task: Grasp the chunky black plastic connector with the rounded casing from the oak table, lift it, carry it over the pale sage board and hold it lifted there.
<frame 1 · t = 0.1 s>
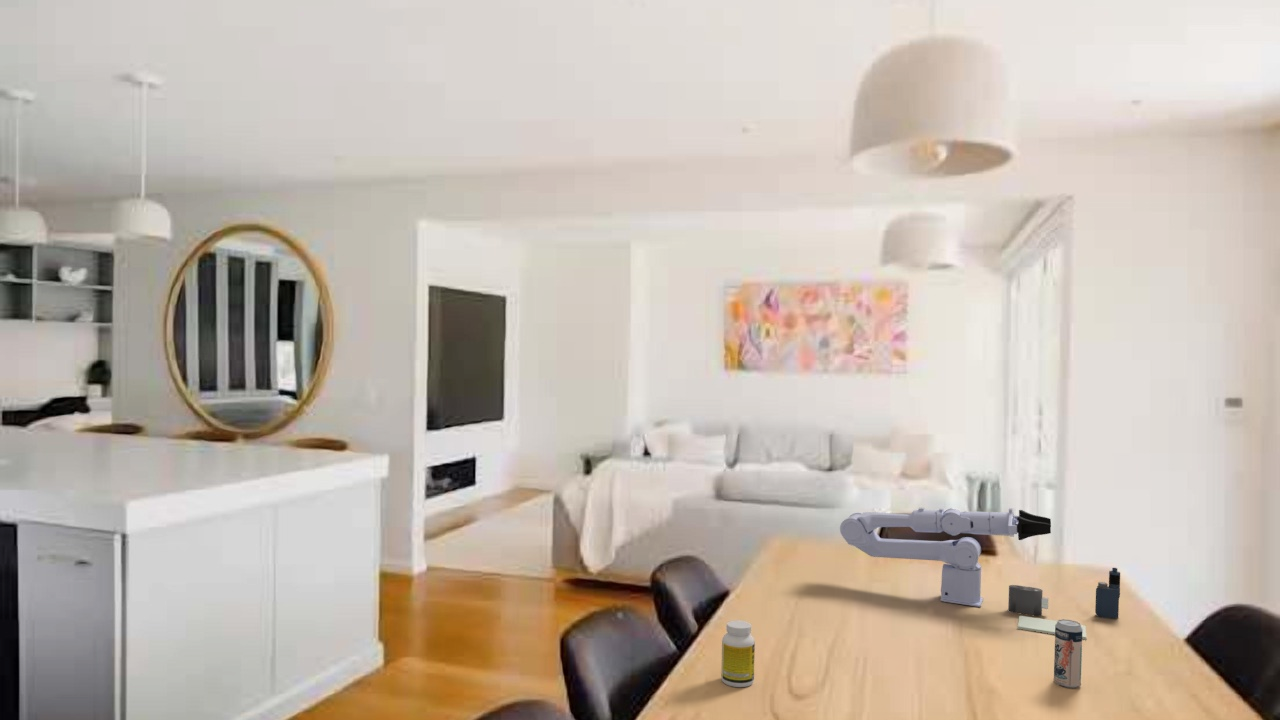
hand: (1050, 525, 203), 22 cm above the table, tool horizontal, fingers open, 7 cm apart
pill bottle: (737, 682, 157), on the table
connector: (1024, 612, 204), on the table
beer can: (1067, 685, 159), on the table
board: (1051, 628, 192), on the table
vaping device: (1107, 617, 202), on the table
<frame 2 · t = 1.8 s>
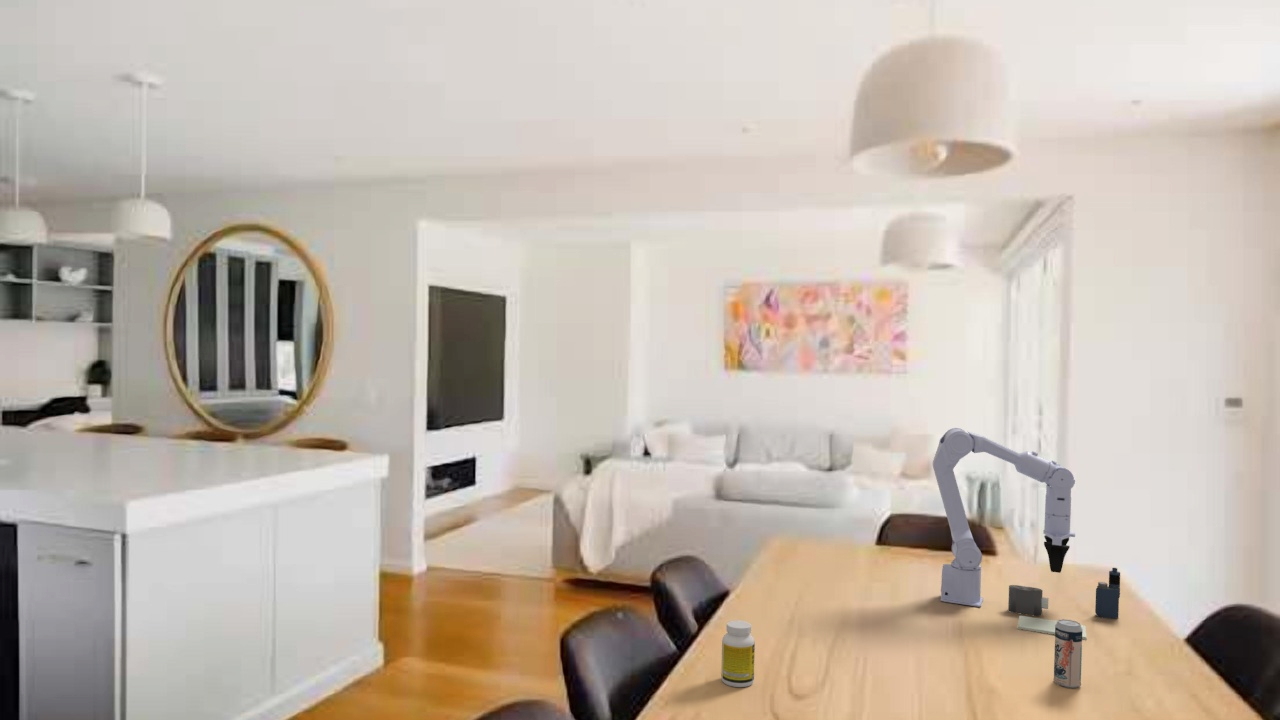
hand: (1055, 568, 206), 10 cm above the table, tool pointing down, fingers open, 7 cm apart
nothing on the table moved.
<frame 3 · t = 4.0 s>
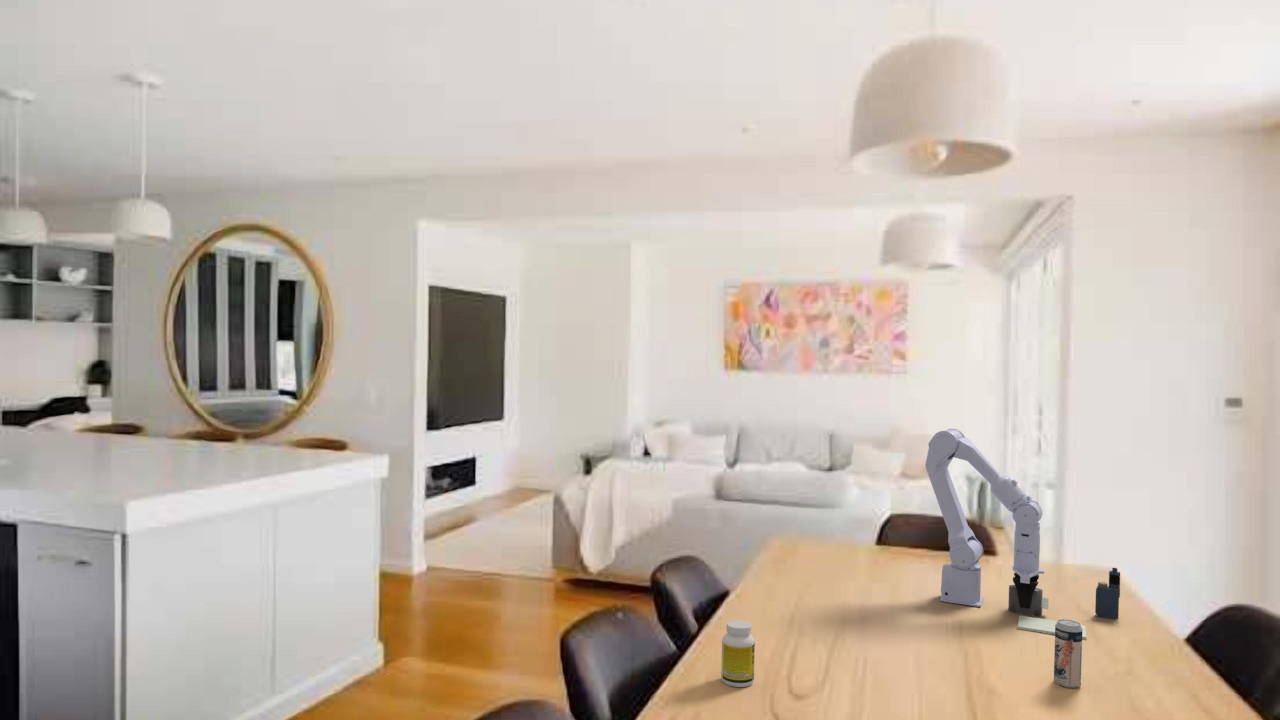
hand: (1025, 605, 204), 2 cm above the table, tool pointing down, fingers closed on connector, 3 cm apart
connector: (1024, 612, 204), on the table, touching gripper
everything else where it was.
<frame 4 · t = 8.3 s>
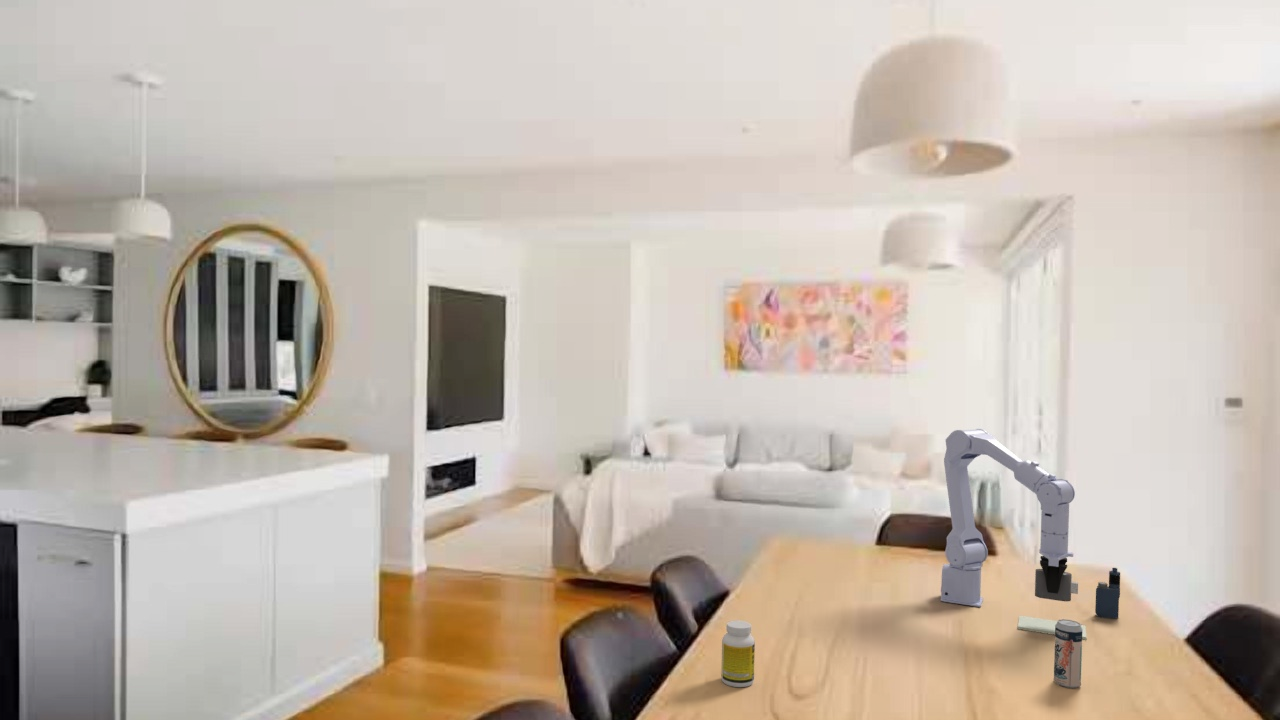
hand: (1052, 590, 192), 9 cm above the table, tool pointing down, fingers closed on connector, 3 cm apart
connector: (1052, 597, 192), point 7 cm above the table, touching gripper
everything else where it was.
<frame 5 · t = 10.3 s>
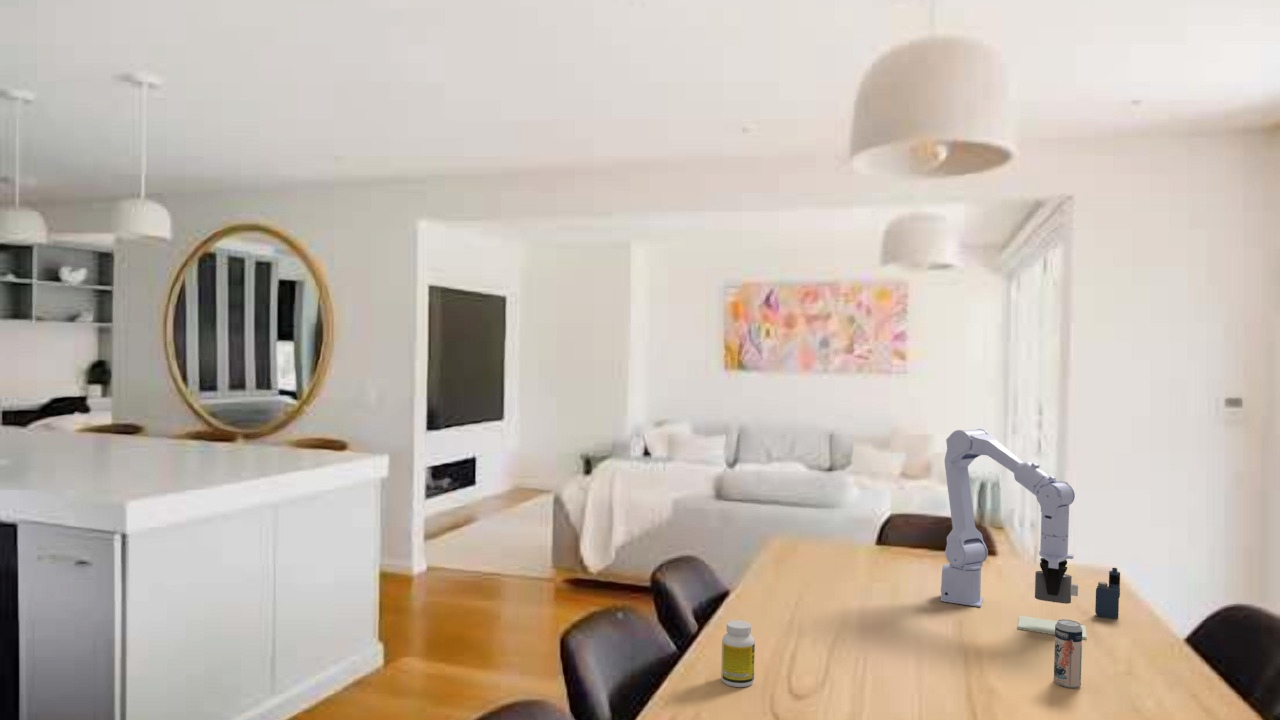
hand: (1052, 592, 192), 8 cm above the table, tool pointing down, fingers closed on connector, 3 cm apart
connector: (1052, 599, 192), point 7 cm above the table, touching gripper
everything else where it was.
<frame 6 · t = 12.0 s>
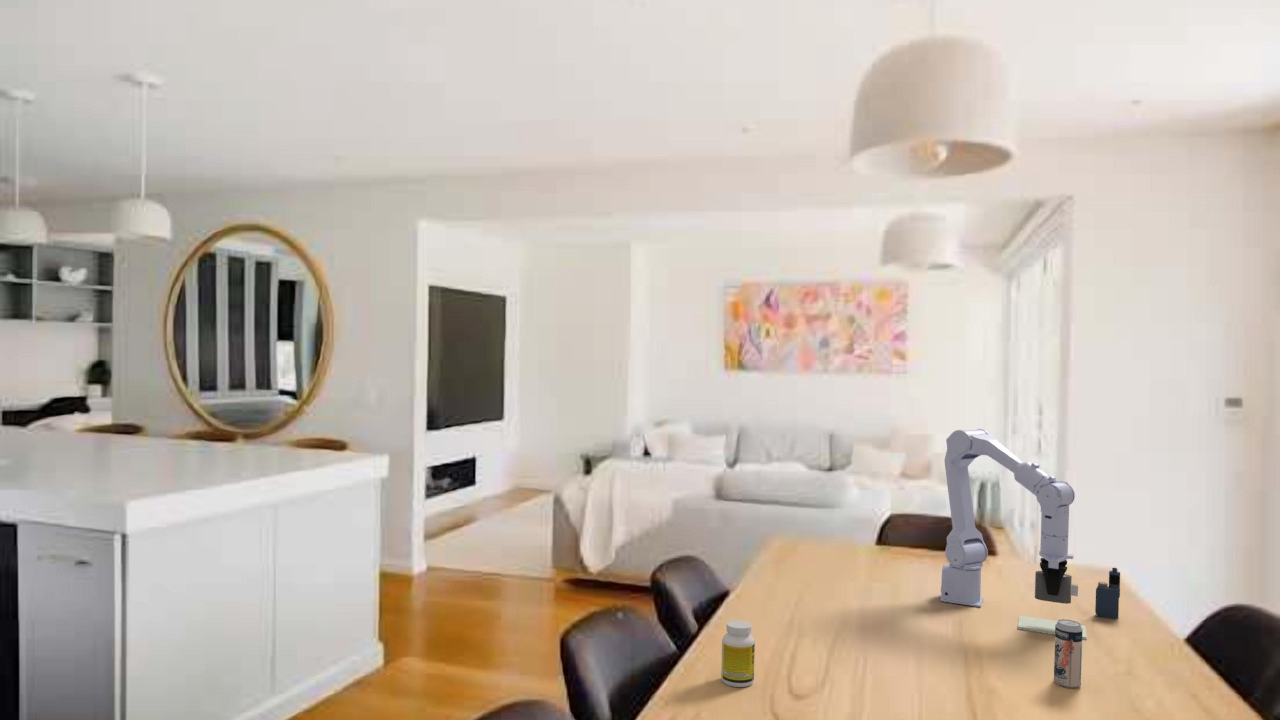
hand: (1052, 592, 192), 8 cm above the table, tool pointing down, fingers closed on connector, 3 cm apart
connector: (1052, 599, 192), point 7 cm above the table, touching gripper
everything else where it was.
at the end: the gripper is holding connector; connector inside the target area on the board (0.0 cm from its centre), point 6.7 cm above the board's base; connector point 6.7 cm above the table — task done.
